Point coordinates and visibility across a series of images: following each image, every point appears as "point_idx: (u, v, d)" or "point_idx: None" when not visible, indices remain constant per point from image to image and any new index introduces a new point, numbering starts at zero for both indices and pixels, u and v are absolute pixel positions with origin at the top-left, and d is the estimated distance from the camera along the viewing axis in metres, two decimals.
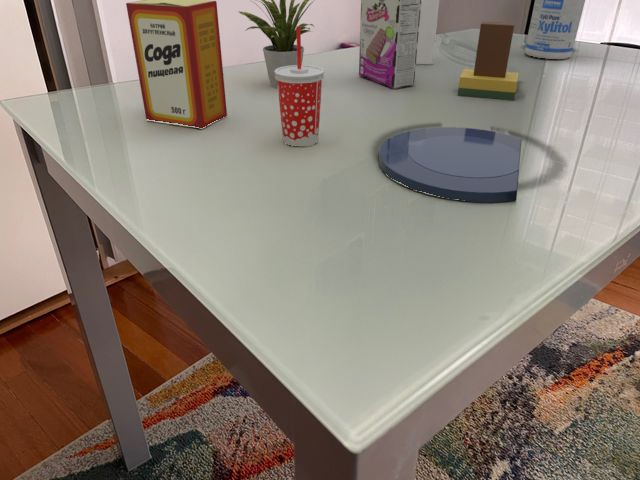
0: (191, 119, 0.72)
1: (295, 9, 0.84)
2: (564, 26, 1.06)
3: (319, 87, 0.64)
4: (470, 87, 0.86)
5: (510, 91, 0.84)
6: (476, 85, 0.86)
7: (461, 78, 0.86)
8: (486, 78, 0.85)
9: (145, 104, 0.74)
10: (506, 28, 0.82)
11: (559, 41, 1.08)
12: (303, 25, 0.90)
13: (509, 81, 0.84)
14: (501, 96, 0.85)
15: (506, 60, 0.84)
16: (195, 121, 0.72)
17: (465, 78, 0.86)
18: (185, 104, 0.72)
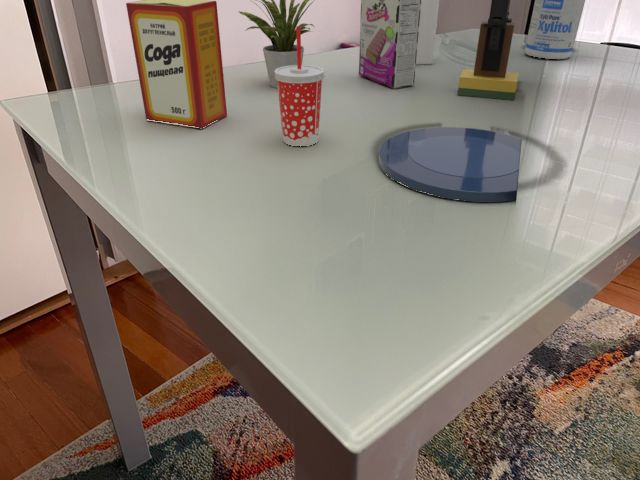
0: (191, 119, 0.72)
1: (295, 9, 0.84)
2: (564, 26, 1.06)
3: (319, 87, 0.64)
4: (470, 87, 0.86)
5: (510, 91, 0.84)
6: (476, 85, 0.86)
7: (461, 78, 0.86)
8: (486, 78, 0.85)
9: (145, 104, 0.74)
10: (506, 28, 0.82)
11: (559, 41, 1.08)
12: (303, 25, 0.90)
13: (509, 81, 0.84)
14: (501, 96, 0.85)
15: (506, 60, 0.84)
16: (195, 121, 0.72)
17: (465, 78, 0.86)
18: (185, 104, 0.72)
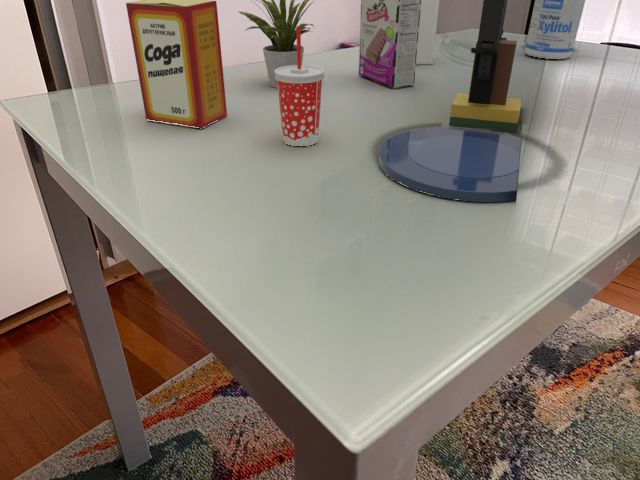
0: (191, 119, 0.72)
1: (295, 9, 0.84)
2: (564, 26, 1.06)
3: (319, 87, 0.64)
4: (464, 116, 0.73)
5: (511, 122, 0.71)
6: (471, 114, 0.72)
7: (453, 105, 0.73)
8: (483, 106, 0.72)
9: (145, 104, 0.74)
10: (507, 48, 0.68)
11: (559, 41, 1.08)
12: (303, 25, 0.90)
13: (510, 110, 0.70)
14: (500, 127, 0.72)
15: (507, 85, 0.71)
16: (195, 121, 0.72)
17: (458, 106, 0.72)
18: (185, 104, 0.72)
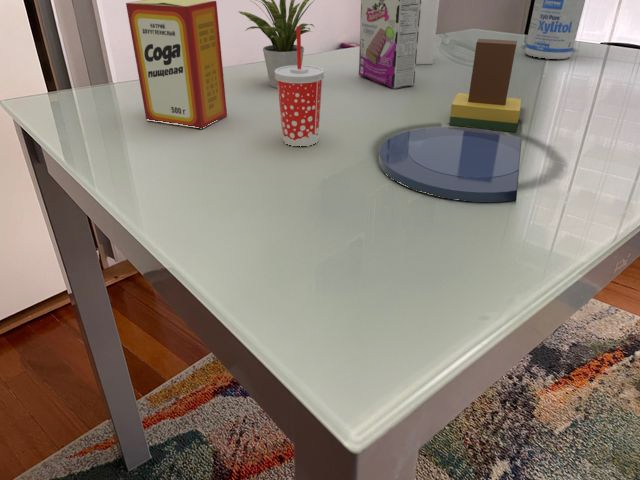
0: (191, 119, 0.72)
1: (295, 9, 0.84)
2: (564, 26, 1.06)
3: (319, 87, 0.64)
4: (464, 116, 0.73)
5: (511, 122, 0.71)
6: (471, 114, 0.72)
7: (453, 105, 0.73)
8: (483, 106, 0.72)
9: (145, 104, 0.74)
10: (507, 48, 0.68)
11: (559, 41, 1.08)
12: (303, 25, 0.90)
13: (510, 110, 0.70)
14: (500, 127, 0.72)
15: (507, 85, 0.71)
16: (195, 121, 0.72)
17: (458, 106, 0.72)
18: (185, 104, 0.72)
